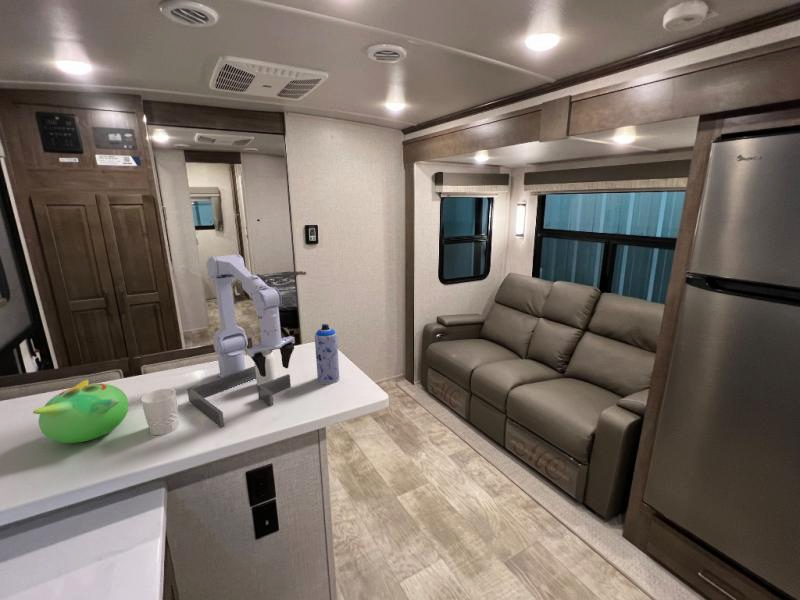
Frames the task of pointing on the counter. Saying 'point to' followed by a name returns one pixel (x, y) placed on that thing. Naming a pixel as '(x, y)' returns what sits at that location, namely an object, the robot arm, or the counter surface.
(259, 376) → the can
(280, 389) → the rail channel
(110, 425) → the toy bird
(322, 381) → the aerosol can
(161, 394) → the white cup
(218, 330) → the robot arm
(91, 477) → the counter surface
